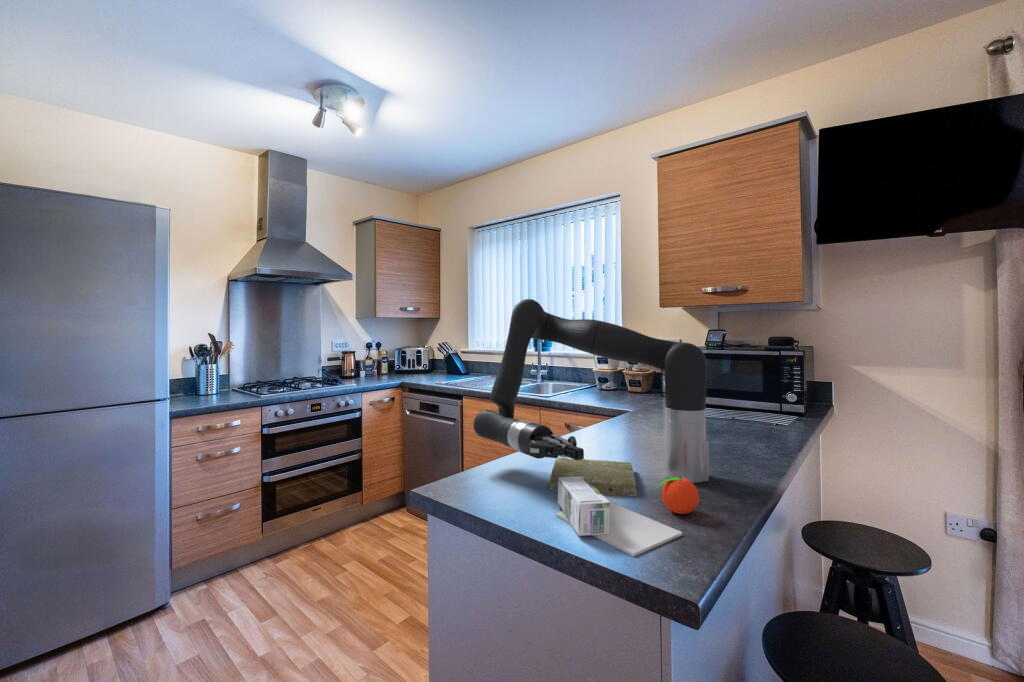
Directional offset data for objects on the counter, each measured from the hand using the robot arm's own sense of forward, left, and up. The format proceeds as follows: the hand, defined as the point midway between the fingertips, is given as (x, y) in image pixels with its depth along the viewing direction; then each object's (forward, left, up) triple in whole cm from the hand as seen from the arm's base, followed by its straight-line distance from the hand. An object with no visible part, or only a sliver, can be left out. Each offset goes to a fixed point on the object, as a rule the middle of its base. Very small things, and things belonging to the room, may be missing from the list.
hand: (581, 454), depth 87 cm
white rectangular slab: (-6, +7, -11) cm, 14 cm away
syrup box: (+2, -1, -8) cm, 8 cm away
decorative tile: (-4, -18, -12) cm, 22 cm away
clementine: (-19, 0, -11) cm, 22 cm away
